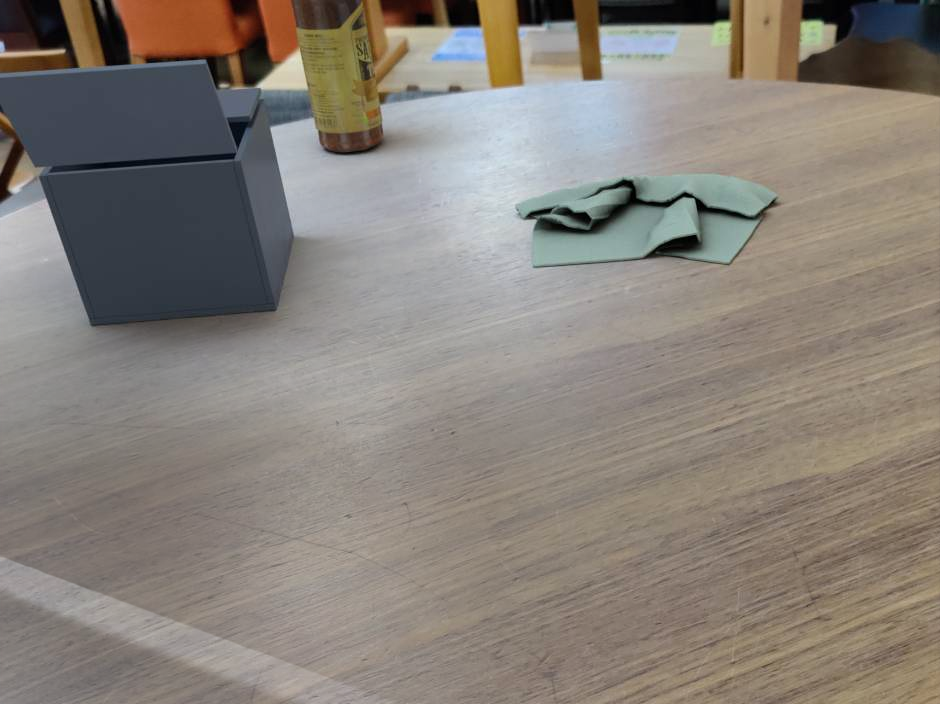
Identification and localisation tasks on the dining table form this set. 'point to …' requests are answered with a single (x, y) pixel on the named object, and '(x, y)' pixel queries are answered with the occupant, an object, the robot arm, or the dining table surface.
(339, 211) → the dining table surface
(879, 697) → the dining table surface
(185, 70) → the flap
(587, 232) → the cloth
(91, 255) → the carton
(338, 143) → the sauce bottle
